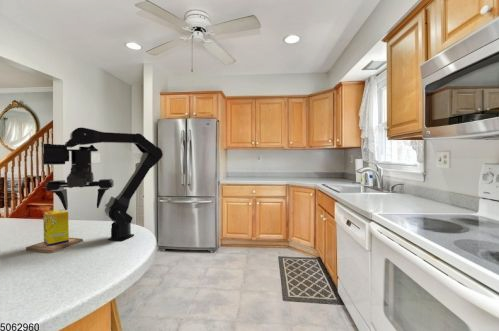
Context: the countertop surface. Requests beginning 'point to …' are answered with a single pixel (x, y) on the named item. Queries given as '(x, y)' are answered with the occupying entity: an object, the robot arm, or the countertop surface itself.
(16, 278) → the countertop surface
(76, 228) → the countertop surface
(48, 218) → the supplement box
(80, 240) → the marked board
